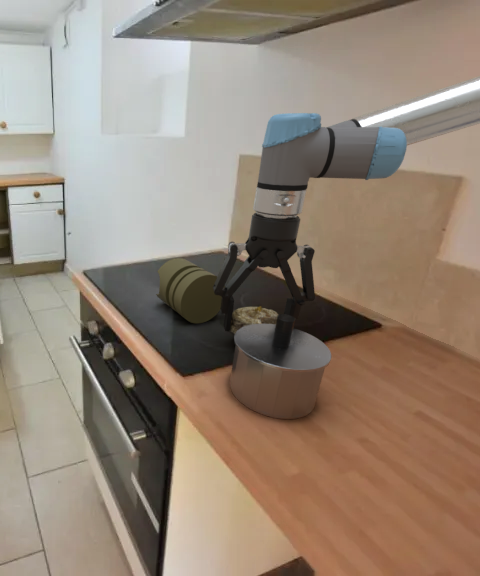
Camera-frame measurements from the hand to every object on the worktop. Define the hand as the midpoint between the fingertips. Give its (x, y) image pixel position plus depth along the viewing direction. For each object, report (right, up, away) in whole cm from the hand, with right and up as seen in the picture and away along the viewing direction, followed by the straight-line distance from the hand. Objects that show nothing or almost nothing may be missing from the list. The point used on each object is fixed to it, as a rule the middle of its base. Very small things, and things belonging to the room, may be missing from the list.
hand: (255, 330), depth 72 cm
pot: (-2, -9, -11) cm, 15 cm away
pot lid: (-2, -1, -15) cm, 15 cm away
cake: (0, 0, 0) cm, 0 cm away
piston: (-9, +2, +16) cm, 19 cm away
